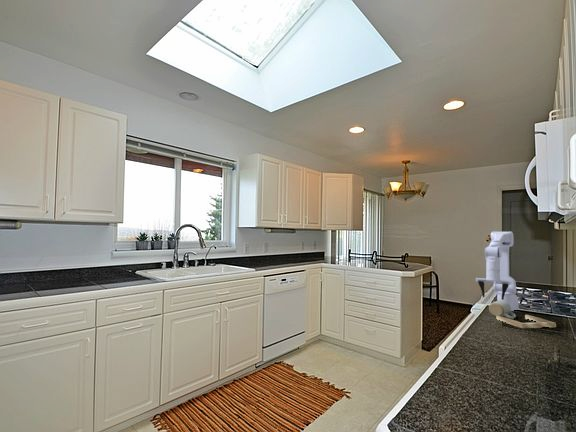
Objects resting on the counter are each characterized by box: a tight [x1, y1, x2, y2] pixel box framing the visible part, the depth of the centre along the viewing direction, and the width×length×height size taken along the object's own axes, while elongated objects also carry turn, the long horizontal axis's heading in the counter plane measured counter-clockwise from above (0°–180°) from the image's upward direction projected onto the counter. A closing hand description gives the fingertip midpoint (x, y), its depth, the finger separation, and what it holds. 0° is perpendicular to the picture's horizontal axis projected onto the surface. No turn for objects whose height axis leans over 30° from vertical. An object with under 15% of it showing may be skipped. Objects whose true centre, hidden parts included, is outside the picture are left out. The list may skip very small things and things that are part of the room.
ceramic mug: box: [488, 300, 517, 320], centre depth 153 cm, size 11×8×8 cm
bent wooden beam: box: [495, 314, 557, 329], centre depth 141 cm, size 17×14×2 cm
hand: (493, 298), depth 147 cm, fingers open, 7 cm apart
